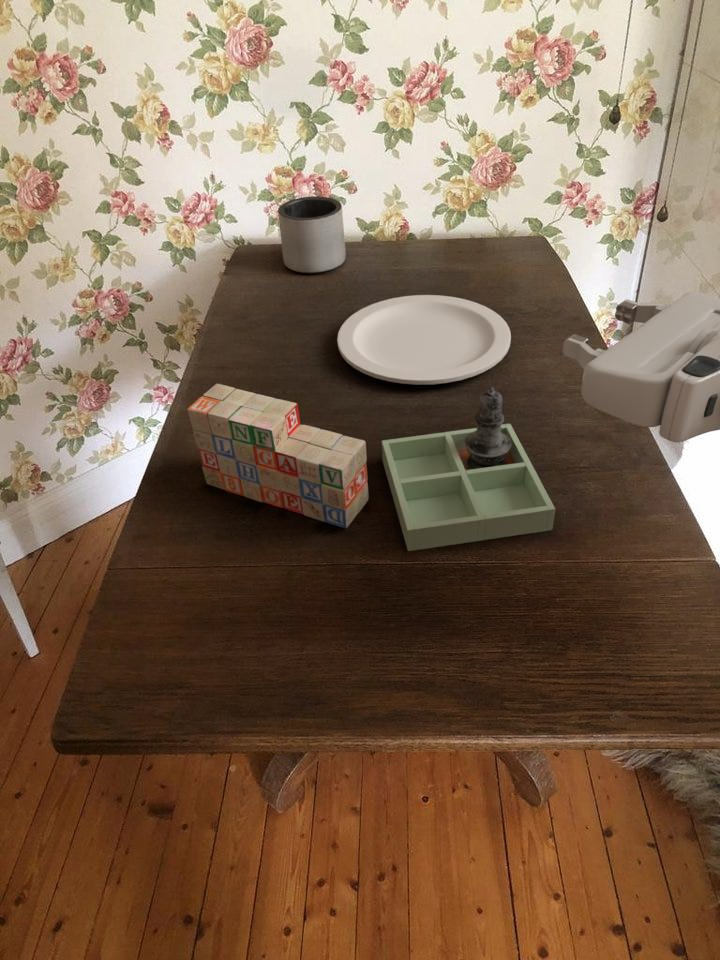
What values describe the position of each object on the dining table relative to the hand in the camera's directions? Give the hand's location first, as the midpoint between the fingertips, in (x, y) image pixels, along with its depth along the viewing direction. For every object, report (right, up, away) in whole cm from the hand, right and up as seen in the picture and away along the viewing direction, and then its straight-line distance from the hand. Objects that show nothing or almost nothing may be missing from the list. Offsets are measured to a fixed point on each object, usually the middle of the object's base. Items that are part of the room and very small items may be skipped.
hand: (593, 325), depth 75 cm
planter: (-32, +28, +76) cm, 87 cm away
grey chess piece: (-7, -14, +23) cm, 27 cm away
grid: (-11, -17, +19) cm, 28 cm away
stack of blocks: (-33, -17, +22) cm, 43 cm away
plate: (-13, +6, +48) cm, 50 cm away
